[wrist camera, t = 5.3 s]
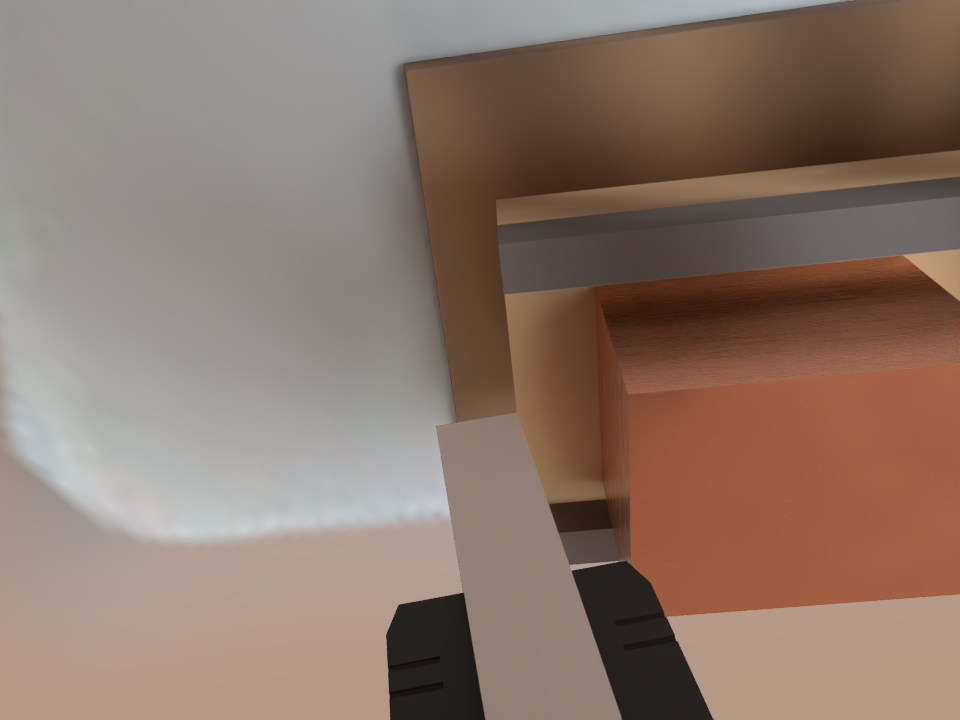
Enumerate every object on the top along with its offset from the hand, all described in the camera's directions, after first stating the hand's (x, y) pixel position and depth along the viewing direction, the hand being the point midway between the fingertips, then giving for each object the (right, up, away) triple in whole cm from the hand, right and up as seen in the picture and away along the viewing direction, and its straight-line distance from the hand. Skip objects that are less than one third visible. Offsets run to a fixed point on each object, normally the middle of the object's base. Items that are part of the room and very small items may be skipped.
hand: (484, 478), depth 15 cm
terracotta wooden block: (+6, +2, +2) cm, 6 cm away
